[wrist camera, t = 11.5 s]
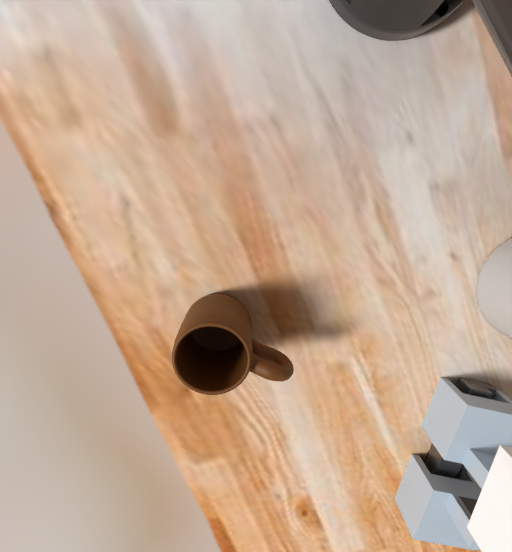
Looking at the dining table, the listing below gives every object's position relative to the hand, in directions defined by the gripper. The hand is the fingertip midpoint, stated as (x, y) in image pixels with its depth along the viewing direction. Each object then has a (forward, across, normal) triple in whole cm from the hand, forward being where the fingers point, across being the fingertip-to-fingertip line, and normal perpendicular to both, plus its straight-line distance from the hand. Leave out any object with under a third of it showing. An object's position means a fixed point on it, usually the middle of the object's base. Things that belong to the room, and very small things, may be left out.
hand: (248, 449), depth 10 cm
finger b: (+34, +29, -16) cm, 47 cm away
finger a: (+34, +29, -27) cm, 52 cm away
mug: (+34, +1, -10) cm, 35 cm away
